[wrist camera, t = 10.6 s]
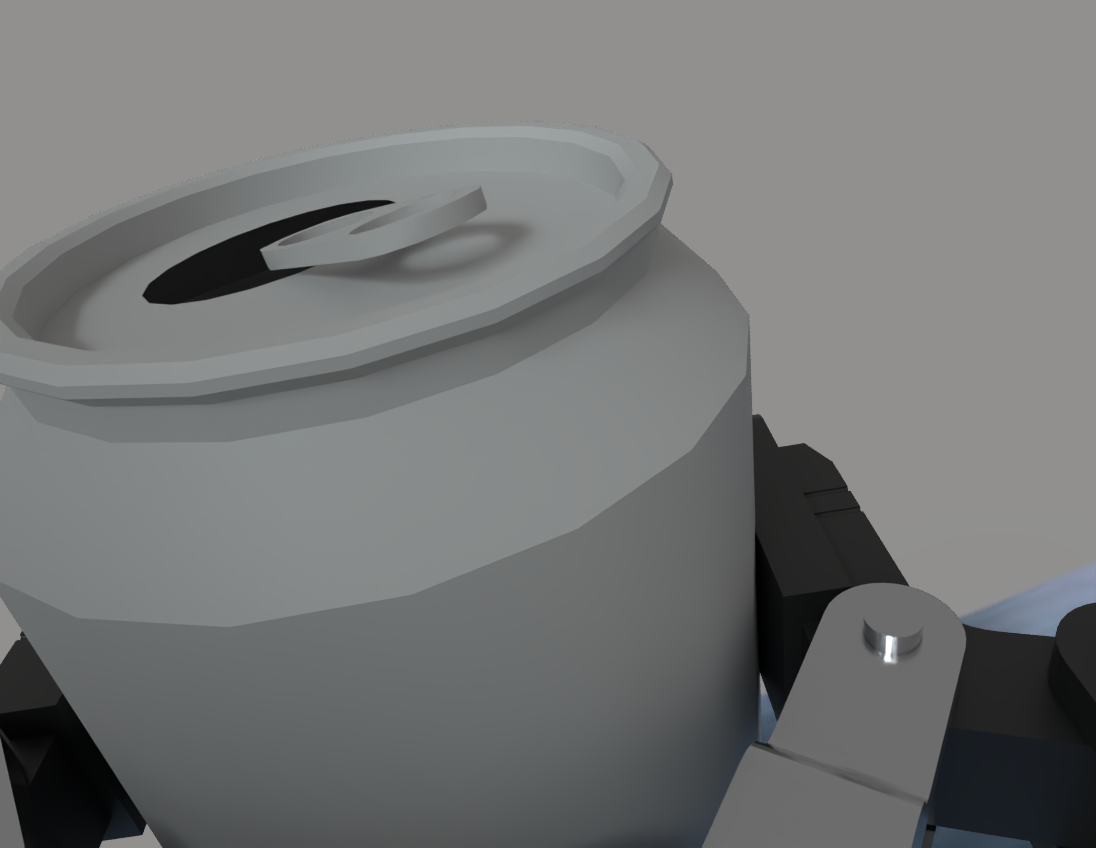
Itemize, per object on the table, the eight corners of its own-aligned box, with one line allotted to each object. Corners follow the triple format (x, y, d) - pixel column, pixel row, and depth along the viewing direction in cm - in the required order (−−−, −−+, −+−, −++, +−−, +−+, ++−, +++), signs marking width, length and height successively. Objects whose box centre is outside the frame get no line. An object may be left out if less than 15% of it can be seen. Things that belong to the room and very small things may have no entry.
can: (513, 670, 18) (371, 89, 12) (852, 858, 14) (898, 86, 8) (210, 973, 14) (-257, 289, 8) (569, 1401, 9) (128, 572, 3)
